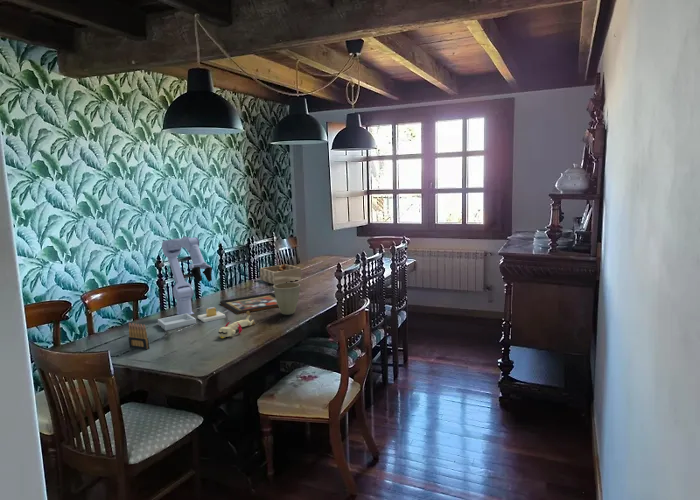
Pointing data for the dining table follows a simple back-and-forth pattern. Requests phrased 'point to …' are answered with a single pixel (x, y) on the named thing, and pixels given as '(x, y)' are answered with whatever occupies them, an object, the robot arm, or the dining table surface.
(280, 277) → the display box
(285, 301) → the plant pot
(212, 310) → the block
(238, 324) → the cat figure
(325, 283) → the dining table surface
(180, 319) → the parts tray
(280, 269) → the bear figurine
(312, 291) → the dining table surface
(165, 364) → the dining table surface
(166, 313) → the dining table surface
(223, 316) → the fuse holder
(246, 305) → the framed painting
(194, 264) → the robot arm
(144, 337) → the ammunition clip
